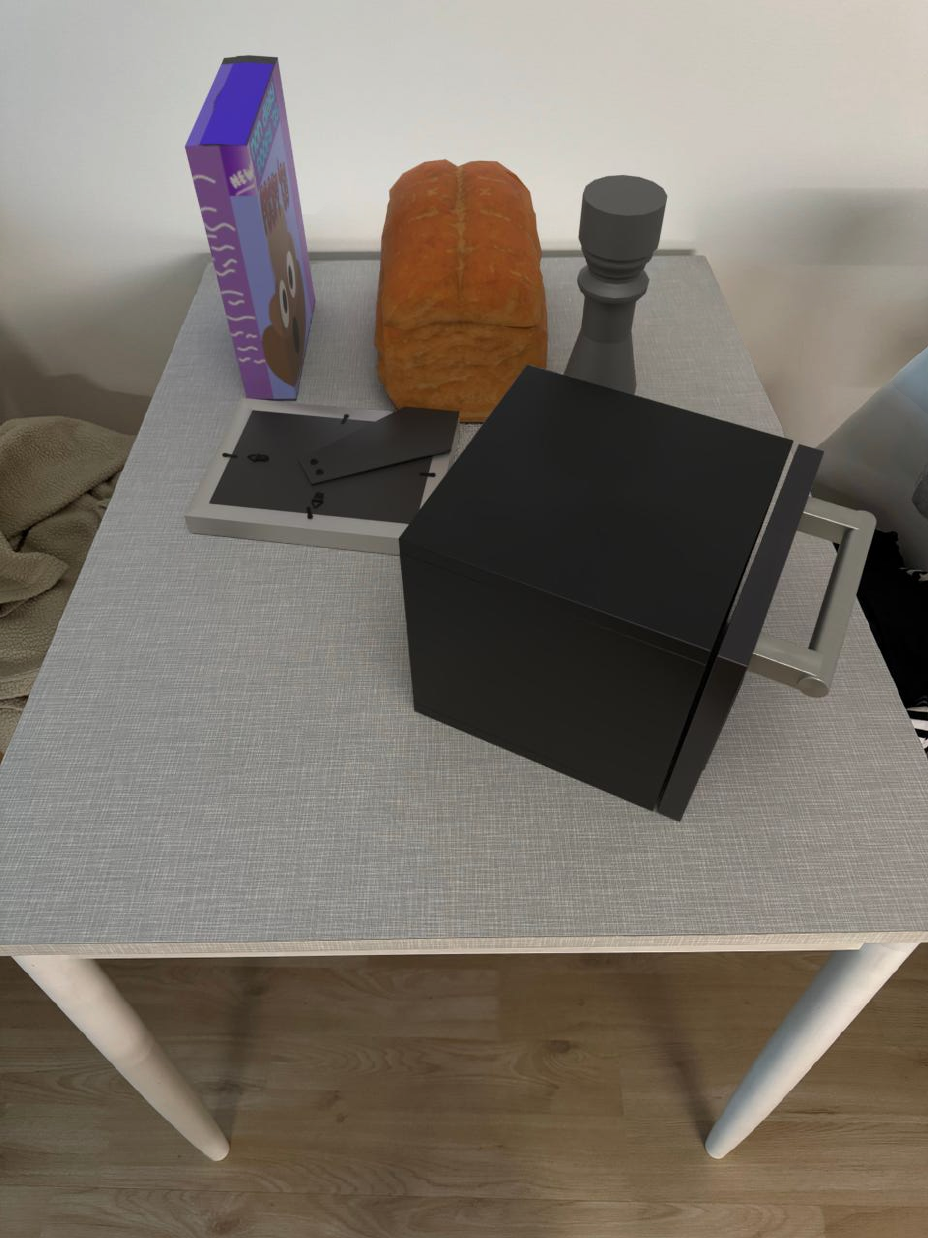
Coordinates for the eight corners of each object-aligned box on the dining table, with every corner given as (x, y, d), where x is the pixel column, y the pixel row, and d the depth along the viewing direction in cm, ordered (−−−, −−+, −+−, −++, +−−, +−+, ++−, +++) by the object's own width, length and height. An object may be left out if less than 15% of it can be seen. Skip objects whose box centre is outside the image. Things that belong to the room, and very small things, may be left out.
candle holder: (603, 444, 81) (646, 167, 61) (632, 487, 77) (687, 208, 58) (541, 458, 80) (564, 180, 60) (567, 503, 76) (601, 223, 57)
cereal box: (296, 400, 85) (246, 142, 66) (247, 400, 85) (184, 143, 66) (315, 300, 96) (277, 54, 77) (271, 300, 96) (223, 54, 77)
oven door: (807, 647, 66) (897, 471, 52) (744, 849, 56) (835, 699, 42) (730, 620, 68) (798, 443, 54) (656, 812, 58) (716, 655, 44)
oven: (727, 620, 68) (794, 439, 54) (652, 811, 58) (711, 651, 44) (515, 546, 73) (526, 363, 59) (413, 711, 63) (397, 538, 49)
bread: (377, 426, 83) (360, 270, 70) (388, 274, 99) (376, 126, 87) (547, 424, 83) (561, 267, 70) (530, 272, 99) (538, 123, 87)
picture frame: (459, 435, 82) (245, 415, 84) (459, 411, 80) (239, 391, 82) (431, 558, 72) (190, 532, 74) (429, 534, 70) (181, 508, 72)
